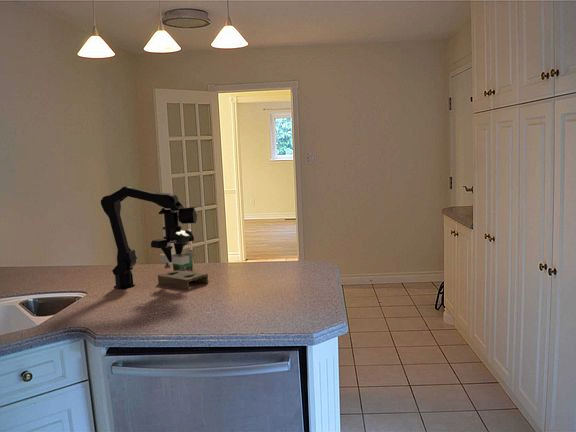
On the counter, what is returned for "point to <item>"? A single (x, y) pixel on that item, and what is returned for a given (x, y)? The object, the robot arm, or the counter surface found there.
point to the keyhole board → (181, 278)
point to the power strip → (175, 260)
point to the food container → (189, 265)
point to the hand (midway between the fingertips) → (174, 260)
